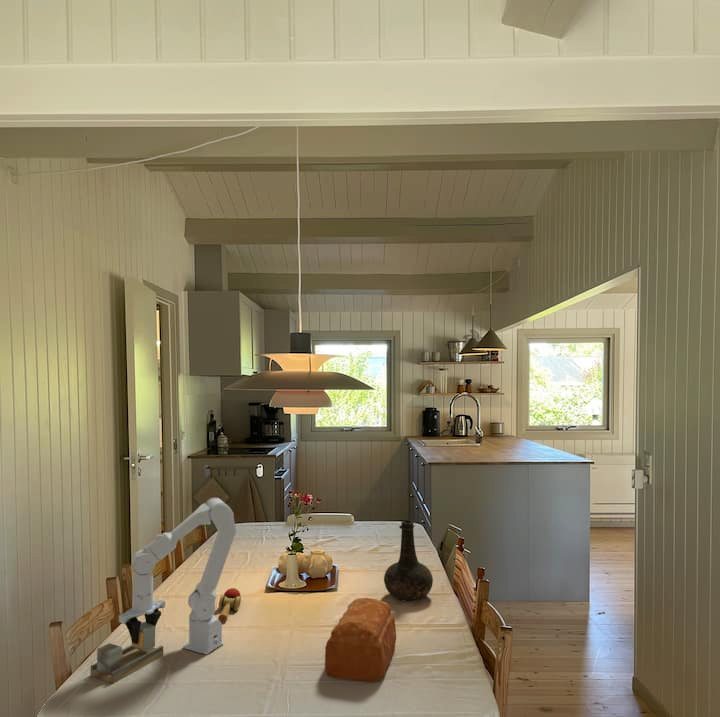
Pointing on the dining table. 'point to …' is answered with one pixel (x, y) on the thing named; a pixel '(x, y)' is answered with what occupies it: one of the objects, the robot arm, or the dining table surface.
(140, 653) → the jaw track
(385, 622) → the bread
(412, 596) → the glass bottle
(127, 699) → the dining table surface
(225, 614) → the kendama
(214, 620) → the robot arm
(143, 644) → the block
